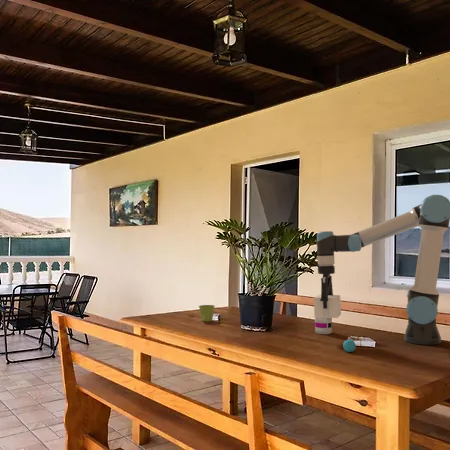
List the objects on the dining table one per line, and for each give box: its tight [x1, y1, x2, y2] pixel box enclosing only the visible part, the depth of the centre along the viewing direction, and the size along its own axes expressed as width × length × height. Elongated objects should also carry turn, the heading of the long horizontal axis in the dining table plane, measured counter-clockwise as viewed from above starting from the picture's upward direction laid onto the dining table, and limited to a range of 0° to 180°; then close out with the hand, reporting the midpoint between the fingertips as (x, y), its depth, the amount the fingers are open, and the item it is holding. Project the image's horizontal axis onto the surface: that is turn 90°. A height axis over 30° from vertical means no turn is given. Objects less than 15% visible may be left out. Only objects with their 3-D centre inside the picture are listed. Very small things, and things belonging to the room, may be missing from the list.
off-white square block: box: [313, 294, 342, 319], centre depth 213 cm, size 10×10×9 cm
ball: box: [342, 339, 357, 353], centre depth 192 cm, size 5×5×5 cm
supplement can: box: [314, 316, 333, 335], centre depth 232 cm, size 8×8×15 cm
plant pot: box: [198, 304, 216, 323], centre depth 269 cm, size 9×9×9 cm
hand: (327, 313), depth 213 cm, fingers closed on off-white square block, 10 cm apart
